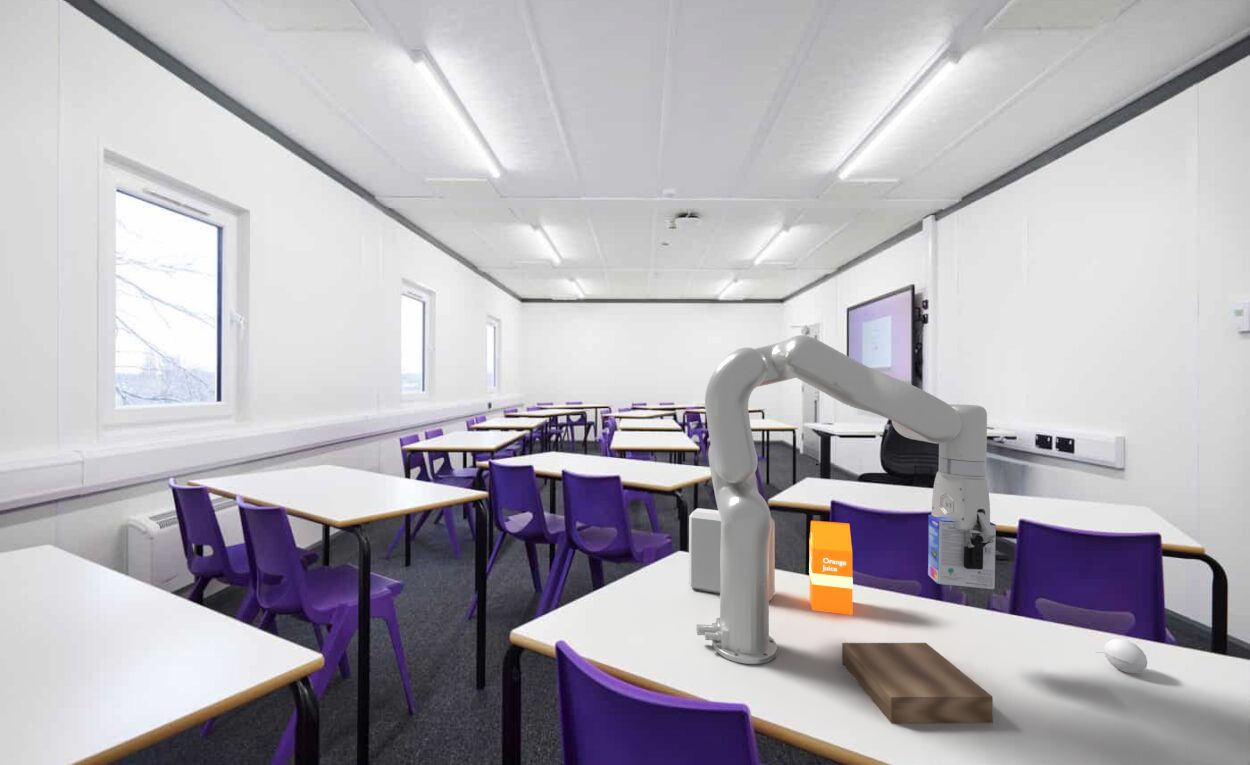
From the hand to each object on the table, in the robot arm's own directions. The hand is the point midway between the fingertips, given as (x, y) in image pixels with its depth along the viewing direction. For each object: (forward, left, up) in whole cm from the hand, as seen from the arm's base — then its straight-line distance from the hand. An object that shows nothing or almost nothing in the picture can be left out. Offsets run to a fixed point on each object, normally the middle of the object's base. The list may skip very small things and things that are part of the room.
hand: (960, 561), depth 92 cm
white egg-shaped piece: (+28, -3, -19) cm, 34 cm away
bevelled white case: (-36, +32, -19) cm, 52 cm away
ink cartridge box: (0, 0, -4) cm, 4 cm away
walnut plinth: (-15, -9, -19) cm, 26 cm away
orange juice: (-14, +24, -19) cm, 34 cm away
